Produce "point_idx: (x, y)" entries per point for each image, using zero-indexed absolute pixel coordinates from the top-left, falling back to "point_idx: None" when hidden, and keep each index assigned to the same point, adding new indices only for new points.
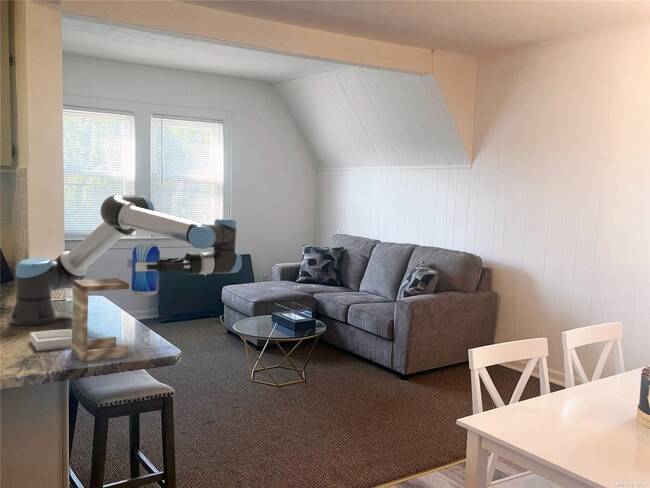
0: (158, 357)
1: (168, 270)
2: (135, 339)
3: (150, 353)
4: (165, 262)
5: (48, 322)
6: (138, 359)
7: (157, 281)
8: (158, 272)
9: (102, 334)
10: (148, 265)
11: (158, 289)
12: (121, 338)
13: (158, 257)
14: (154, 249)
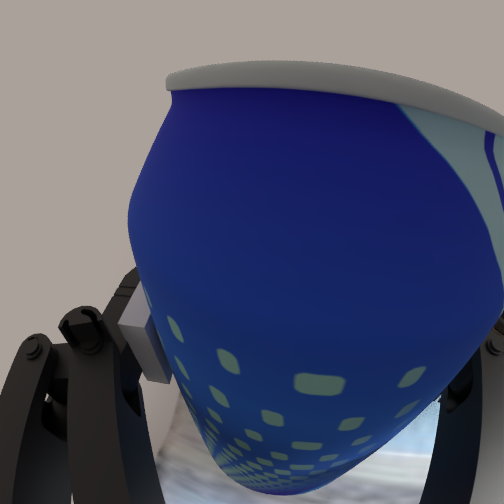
0: (163, 469)
1: (43, 425)
2: (367, 480)
3: (208, 472)
4: (94, 442)
5: (499, 328)
6: (177, 428)
7: (213, 453)
8: (212, 444)
9: (433, 413)
10: (134, 270)
11: (237, 482)
12: (389, 450)
13: (164, 337)
14: (153, 149)
